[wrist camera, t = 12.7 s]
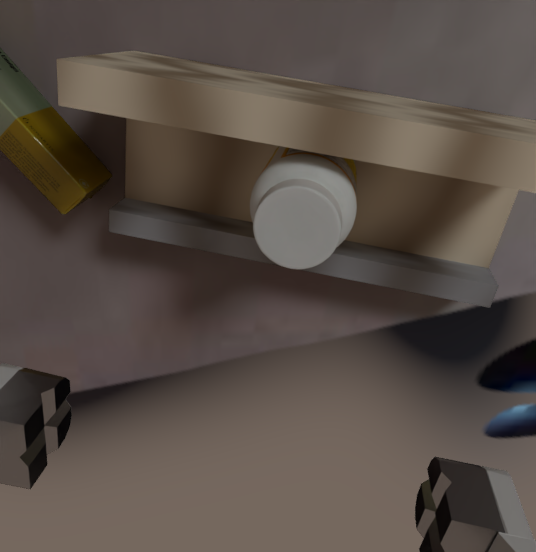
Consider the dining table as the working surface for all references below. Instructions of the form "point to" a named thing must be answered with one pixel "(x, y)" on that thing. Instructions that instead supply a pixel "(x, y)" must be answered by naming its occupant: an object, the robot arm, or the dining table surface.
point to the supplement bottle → (303, 206)
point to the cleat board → (320, 139)
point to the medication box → (45, 143)
